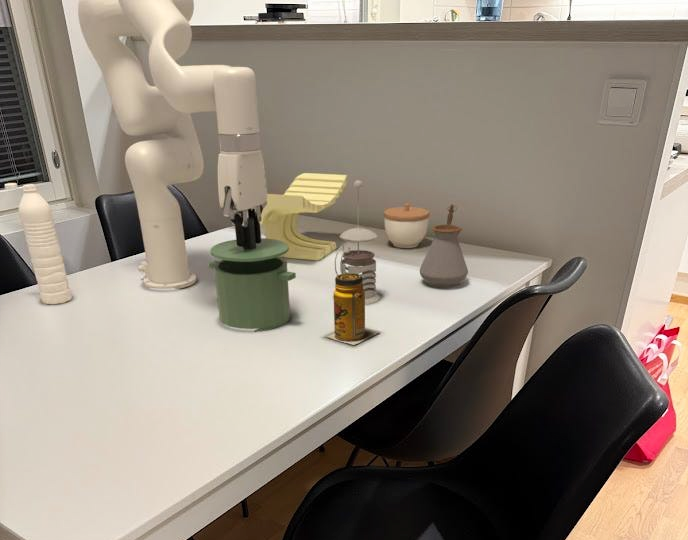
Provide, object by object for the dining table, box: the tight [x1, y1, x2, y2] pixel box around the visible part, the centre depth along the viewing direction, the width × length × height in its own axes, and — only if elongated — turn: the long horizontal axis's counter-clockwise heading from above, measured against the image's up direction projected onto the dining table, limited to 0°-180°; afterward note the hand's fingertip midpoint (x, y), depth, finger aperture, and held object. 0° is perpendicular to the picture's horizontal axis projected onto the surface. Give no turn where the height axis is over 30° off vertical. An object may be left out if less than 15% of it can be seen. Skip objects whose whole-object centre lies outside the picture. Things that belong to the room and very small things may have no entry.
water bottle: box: [4, 182, 73, 305], centre depth 149 cm, size 9×6×25 cm
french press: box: [334, 179, 381, 305], centre depth 147 cm, size 10×12×25 cm
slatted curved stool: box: [251, 172, 348, 261], centre depth 183 cm, size 30×16×18 cm, turn 159°
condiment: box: [325, 272, 380, 346], centre depth 132 cm, size 7×8×12 cm
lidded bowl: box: [383, 203, 431, 249], centre depth 189 cm, size 13×13×11 cm
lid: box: [209, 218, 289, 262], centre depth 134 cm, size 16×16×7 cm
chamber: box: [208, 257, 297, 332], centre depth 141 cm, size 15×20×12 cm
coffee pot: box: [419, 204, 469, 289], centre depth 162 cm, size 21×12×15 cm, turn 168°
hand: (249, 243), depth 135 cm, fingers closed on lid, 2 cm apart
